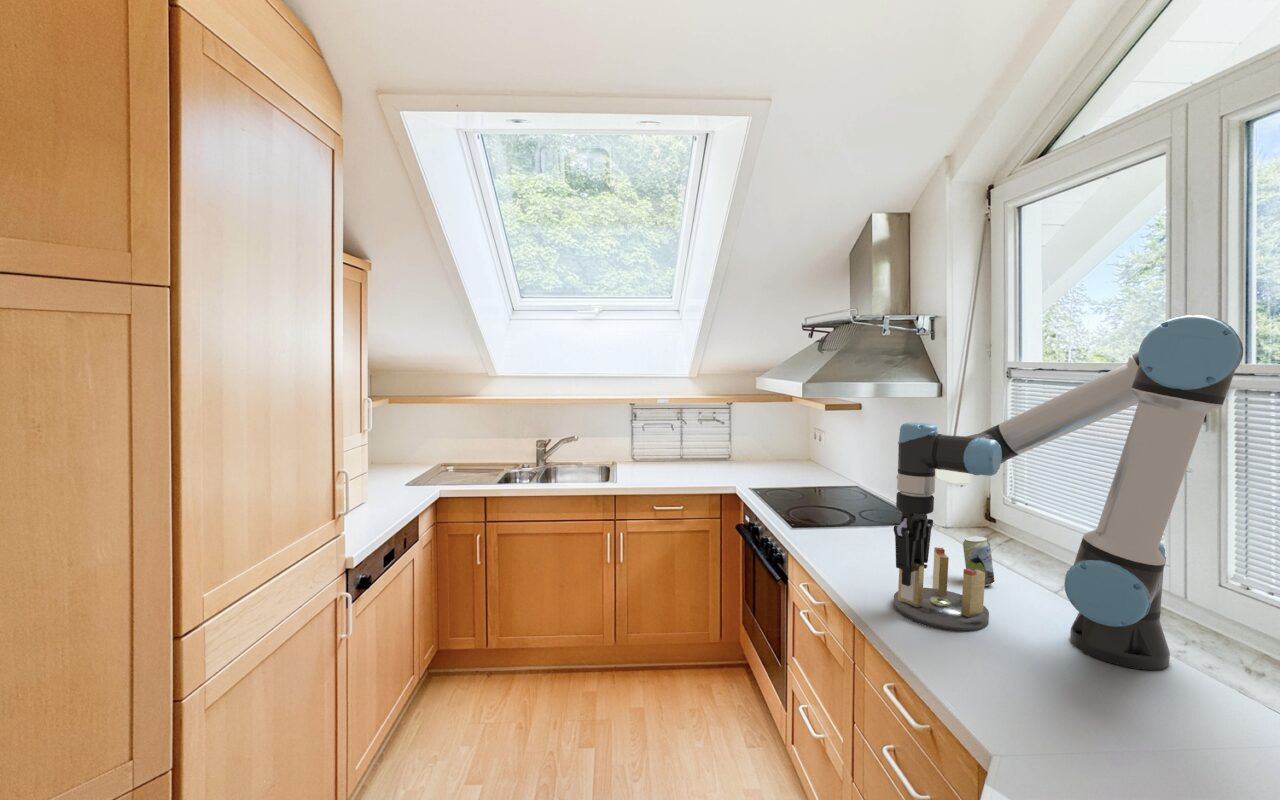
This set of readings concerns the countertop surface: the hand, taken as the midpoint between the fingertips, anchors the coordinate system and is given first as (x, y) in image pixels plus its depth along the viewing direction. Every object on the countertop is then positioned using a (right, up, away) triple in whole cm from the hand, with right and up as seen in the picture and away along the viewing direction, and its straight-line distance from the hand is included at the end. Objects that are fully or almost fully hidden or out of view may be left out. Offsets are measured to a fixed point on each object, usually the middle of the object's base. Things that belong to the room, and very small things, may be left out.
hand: (910, 596), depth 132 cm
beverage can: (+25, -3, +19) cm, 32 cm away
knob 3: (+11, -2, -5) cm, 12 cm away
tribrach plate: (+7, -4, +1) cm, 8 cm away
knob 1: (0, -2, 0) cm, 2 cm away
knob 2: (+10, -1, +7) cm, 12 cm away
